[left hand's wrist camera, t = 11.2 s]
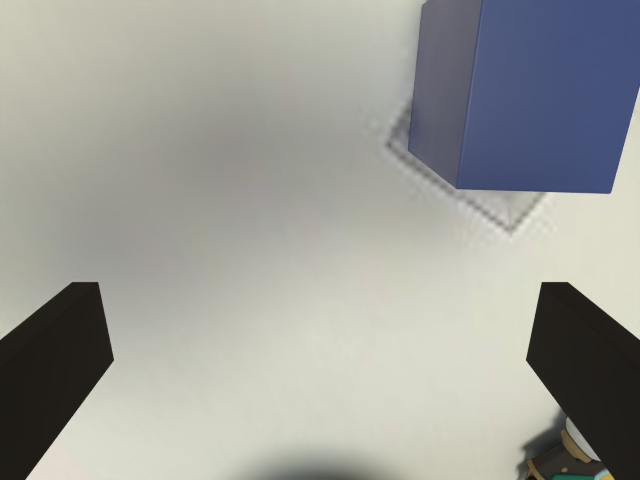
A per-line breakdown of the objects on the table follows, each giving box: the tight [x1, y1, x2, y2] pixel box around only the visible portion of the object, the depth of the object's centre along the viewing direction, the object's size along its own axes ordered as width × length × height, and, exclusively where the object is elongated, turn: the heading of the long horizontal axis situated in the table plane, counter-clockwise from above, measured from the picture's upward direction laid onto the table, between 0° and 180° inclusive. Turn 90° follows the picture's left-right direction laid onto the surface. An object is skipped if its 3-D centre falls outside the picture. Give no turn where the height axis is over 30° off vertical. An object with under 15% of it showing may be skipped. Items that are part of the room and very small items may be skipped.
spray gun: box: [525, 417, 615, 480], centre depth 36 cm, size 4×17×15 cm
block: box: [408, 0, 640, 194], centre depth 22 cm, size 7×9×12 cm
